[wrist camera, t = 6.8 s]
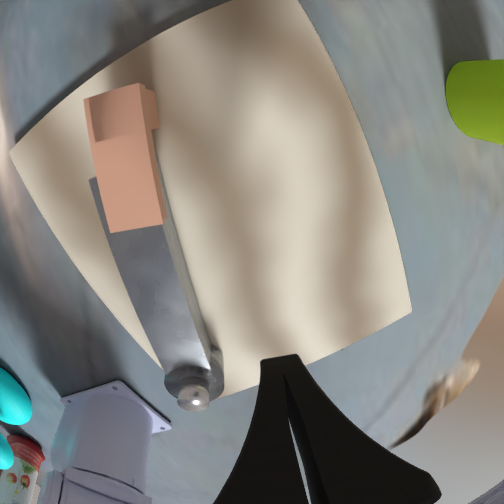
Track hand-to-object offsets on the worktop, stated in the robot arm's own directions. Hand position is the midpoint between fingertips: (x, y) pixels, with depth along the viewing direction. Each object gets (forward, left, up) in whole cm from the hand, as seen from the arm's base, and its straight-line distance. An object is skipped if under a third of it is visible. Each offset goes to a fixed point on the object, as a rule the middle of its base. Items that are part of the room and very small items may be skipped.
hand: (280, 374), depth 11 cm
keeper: (-2, +9, -8) cm, 13 cm away
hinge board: (-1, +3, -9) cm, 10 cm away
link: (-5, +1, -8) cm, 10 cm away
